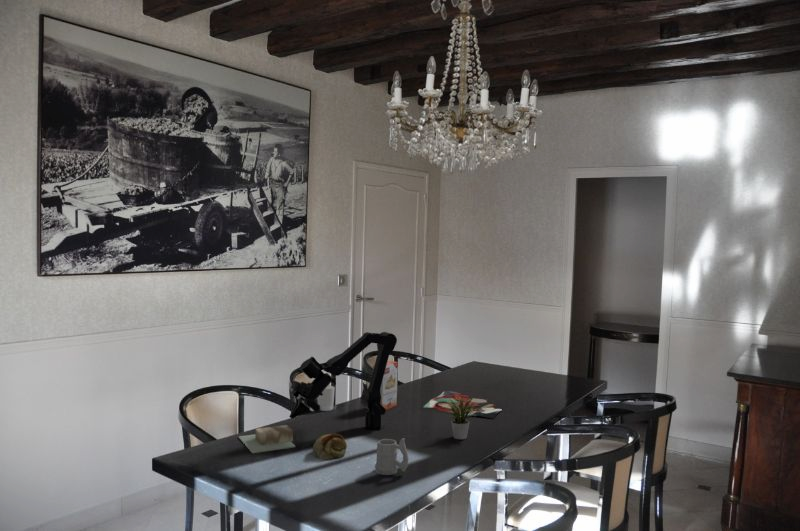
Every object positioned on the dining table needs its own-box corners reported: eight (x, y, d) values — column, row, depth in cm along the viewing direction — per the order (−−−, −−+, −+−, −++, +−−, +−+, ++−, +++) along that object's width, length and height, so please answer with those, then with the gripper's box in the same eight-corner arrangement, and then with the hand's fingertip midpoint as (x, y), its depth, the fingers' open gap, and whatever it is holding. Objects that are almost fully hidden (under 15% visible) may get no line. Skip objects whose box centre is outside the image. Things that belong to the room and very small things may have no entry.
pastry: (332, 463, 213) (332, 440, 212) (303, 456, 219) (304, 433, 219) (355, 451, 225) (356, 429, 224) (328, 445, 231) (328, 424, 231)
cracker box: (382, 412, 277) (383, 366, 276) (371, 411, 280) (371, 364, 279) (397, 406, 289) (398, 361, 289) (386, 404, 292) (387, 360, 291)
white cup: (331, 411, 277) (331, 389, 277) (314, 410, 279) (314, 388, 278) (336, 407, 285) (336, 385, 284) (320, 406, 286) (320, 384, 286)
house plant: (485, 434, 247) (485, 393, 247) (477, 444, 234) (478, 401, 234) (450, 430, 252) (451, 390, 252) (441, 440, 239) (442, 398, 239)
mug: (381, 465, 210) (382, 430, 210) (413, 472, 205) (413, 436, 205) (370, 472, 204) (371, 436, 203) (402, 479, 198) (403, 442, 198)
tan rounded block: (286, 424, 241) (255, 428, 235) (292, 430, 234) (261, 434, 228) (286, 435, 241) (255, 439, 235) (292, 440, 234) (261, 445, 228)
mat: (279, 432, 246) (279, 431, 246) (295, 447, 228) (295, 445, 228) (238, 437, 238) (238, 436, 238) (252, 453, 220) (252, 452, 220)
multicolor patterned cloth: (418, 410, 283) (418, 406, 283) (444, 394, 315) (444, 391, 315) (492, 420, 269) (492, 416, 269) (511, 402, 301) (511, 398, 301)
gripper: (296, 368, 247) (268, 399, 242) (312, 377, 231) (283, 410, 226) (314, 386, 251) (288, 416, 246) (332, 396, 235) (304, 429, 230)
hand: (290, 417), depth 237 cm, fingers closed
